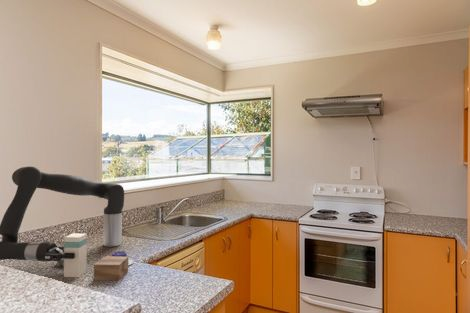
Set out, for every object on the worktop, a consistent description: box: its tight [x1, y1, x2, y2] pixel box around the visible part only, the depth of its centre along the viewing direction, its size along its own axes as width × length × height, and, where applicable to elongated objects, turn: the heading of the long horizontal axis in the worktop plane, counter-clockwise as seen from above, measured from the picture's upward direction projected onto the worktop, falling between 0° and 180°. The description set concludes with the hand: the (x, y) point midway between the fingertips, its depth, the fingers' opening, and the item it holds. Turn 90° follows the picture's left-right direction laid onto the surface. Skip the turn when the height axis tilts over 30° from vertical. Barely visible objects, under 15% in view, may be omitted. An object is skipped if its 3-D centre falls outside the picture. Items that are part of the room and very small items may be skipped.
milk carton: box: [63, 232, 88, 278], centre depth 127 cm, size 6×6×16 cm
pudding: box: [111, 250, 134, 266], centre depth 140 cm, size 12×12×5 cm
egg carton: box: [56, 259, 64, 268], centre depth 140 cm, size 11×8×4 cm
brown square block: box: [93, 255, 129, 281], centre depth 127 cm, size 10×10×6 cm
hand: (80, 252), depth 127 cm, fingers open, 8 cm apart
